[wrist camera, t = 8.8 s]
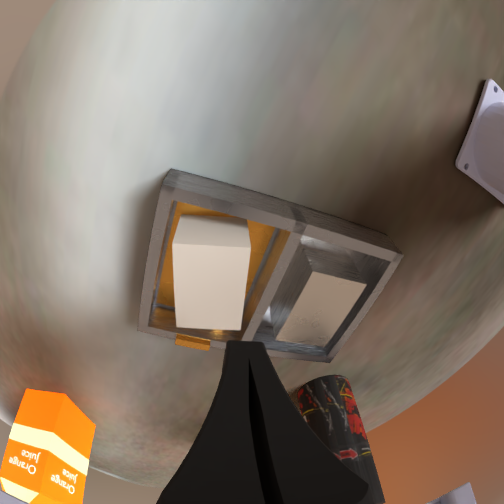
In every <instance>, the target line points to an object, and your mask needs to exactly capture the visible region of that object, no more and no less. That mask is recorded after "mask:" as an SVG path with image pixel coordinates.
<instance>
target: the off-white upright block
mask: <svg viewBox="0 0 504 504" xmlns="http://www.w3.org/2000/svg"><path fill="white" fill-rule="evenodd" d="M172 252H173V278H174V297H175V313H176V326H177V327H181V328H198V329H218V330H241V323H242V315H243V307H244V299H245V291H246V283H247V276H248V268H249V260H250V252H251V244H250V237H249V230H248V223H247V219H244V218H237V217H221V216H204V215H184V214H181V216H180V219H179V222H178V226H177V229H176V232H175V236H174V239H173V243H172Z"/></svg>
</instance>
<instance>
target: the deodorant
mask: <svg viewBox="0 0 504 504" xmlns="http://www.w3.org/2000/svg"><path fill="white" fill-rule="evenodd" d="M298 400H299V405H300V410H301V415H302V417H303V418H304V420H305V421H306V422H307V424H308V425H309V426H310V428H311V429H312V430H313V431H314V432H315V434H316V435H317V436H318V437H319V438H320V440H321V441H322V442H323V443H324V444H325V445H326V446H327V447H328V448H329V449H330V450H331V451H332V452H333V453H334V454H335V455H336V456H337V457H338V458H339V459H340V460H341V461H342V462H343V463H344V464H345V465H346V466H347V467H349V468H350V469H351V470H352V471H353V472H355V473H356V474H357V475H358V476H360V477H361V478H362V479H364V480H365V481H366V482H367V483H369V486H370V488H371V490H372V493H373V495H374V499H375V503H376V504H383V503H385V499H384V495H383V492H382V488H381V484H380V481H379V477H378V474H377V470H376V467H375V464H374V460H373V456H372V453H371V450H370V446H369V443H368V440H367V437H366V433H365V430H364V427H363V424H362V421H361V417H360V414H359V411H358V408H357V405H356V402H355V399H354V396H353V393H352V390H351V387H350V384H349V381H348V379H347V378H346V377H344V376H340V375H329V376H324V377H320V378H317V379H314V380H312V381H310V382H308V383H307V384H305V385H304V386H302V388H301V389H300V390H299V392H298Z"/></svg>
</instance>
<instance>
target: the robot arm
mask: <svg viewBox="0 0 504 504" xmlns="http://www.w3.org/2000/svg"><path fill="white" fill-rule="evenodd" d="M465 164H466V166H465ZM464 166H465V168H464ZM456 167H457V168H458V169H459V170H461V171H462V172H463V173H465V174H466V175H468V176H469V177H470V178H472V179H473V180H474V181H476V182H477V183H478V184H479V185H481V186H482V187H483V188H485V189H486V190H487V191H488V192H490V193H491V194H492V195H493V196H495V197H496V198H497V199H498V200H499V201H501V202H502V203H503V204H504V91H503V90H502V89H501V88H500V87H499V86H498V85H497V84H496V83H495V82H494V81H493V80H492V79H487V80H486V82H485V85H484V88H483V91H482V94H481V97H480V100H479V103H478V106H477V109H476V112H475V114H474V117H473V120H472V122H471V125H470V128H469V130H468V133H467V135H466V138H465V140H464V143H463V145H462V147H461V150H460V152H459V154H458V157H457V159H456ZM0 504H29V503H27V502H25V501H23V500H21V499H19V498H17V497H14V496H12V495H10V494H8V493H7V492H5V491H3V490H0ZM156 504H376V503H375V499H374V495H373V493H372V490H371V488H370V486H369V483H367V482H366V481H365V480H364V479H362V478H361V477H360V476H358V475H357V474H356V473H355V472H353V471H352V470H351V469H350V468H349V467H347V466H346V465H345V464H344V463H343V462H342V461H341V460H340V459H339V458H338V457H337V456H336V455H335V454H334V453H333V452H332V451H331V450H330V449H329V448H328V447H327V446H326V445H325V444H324V443H323V442H322V441H321V440H320V438H319V437H318V436H317V435H316V434H315V432H314V431H313V430H312V429H311V428H310V426H309V425H308V424H307V422H306V421H305V420H304V418H303V417H302V415H301V414H300V413H299V411H298V410H297V408H296V406H295V405H294V403H293V402H292V400H291V399H290V397H289V395H288V393H287V392H286V390H285V388H284V386H283V384H282V383H281V381H280V379H279V377H278V375H277V373H276V371H275V369H274V367H273V365H272V362H271V360H270V358H269V356H268V353H267V351H266V348H265V345H264V343H263V342H256V341H238V340H229V341H227V342H226V348H225V355H224V361H223V368H222V375H221V379H220V382H219V386H218V389H217V392H216V394H215V397H214V400H213V402H212V405H211V407H210V410H209V412H208V415H207V417H206V419H205V421H204V423H203V425H202V428H201V430H200V432H199V434H198V436H197V437H196V439H195V441H194V443H193V445H192V447H191V449H190V450H189V452H188V454H187V455H186V457H185V459H184V460H183V462H182V464H181V465H180V467H179V468H178V470H177V471H176V473H175V474H174V476H173V477H172V479H171V480H170V482H169V483H168V484H167V486H166V487H165V488H164V490H163V491H162V493H161V495H160V497H159V499H158V501H157V503H156ZM426 504H477V503H476V500H475V497H474V494H473V491H472V488H471V485H470V483H469V482H467V483H466V484H464V485H462V486H460V487H458V488H456V489H454V490H452V491H450V492H448V493H447V494H445V495H443V496H441V497H439V498H437V499H435V500H433V501H431V502H428V503H426Z"/></svg>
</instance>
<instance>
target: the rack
mask: <svg viewBox="0 0 504 504" xmlns="http://www.w3.org/2000/svg"><path fill="white" fill-rule="evenodd" d="M181 214H184V215H204V216H221V217H237V218H244V219H247V223H248V230H249V237H250V244H251V252H250V260H249V268H248V276H247V283H246V291H245V299H244V307H243V315H242V323H241V330H218V329H198V328H181V327H177V326H176V313H175V297H174V278H173V252H172V243H173V239H174V236H175V232H176V229H177V226H178V222H179V219H180V216H181ZM403 256H404V255H403V254H402V252H401V251H400V250H399V249H398V248H397V246H396V245H395V244H394V243H393V242H392V241H391V239H390V238H389V237H388V236H387V235H386V234H383V233H381V232H378V231H375V230H372V229H370V228H367V227H364V226H361V225H358V224H355V223H352V222H350V221H347V220H344V219H341V218H338V217H335V216H332V215H329V214H326V213H323V212H320V211H317V210H314V209H311V208H308V207H305V206H301V205H298V204H295V203H292V202H289V201H285V200H282V199H279V198H276V197H272V196H269V195H266V194H262V193H259V192H256V191H252V190H249V189H245V188H242V187H238V186H235V185H231V184H228V183H224V182H220V181H217V180H213V179H209V178H206V177H202V176H198V175H194V174H191V173H187V172H183V171H179V170H175V169H170V171H169V173H168V174H167V176H166V178H165V179H164V181H163V183H162V185H161V190H160V194H159V199H158V203H157V208H156V213H155V218H154V223H153V228H152V233H151V239H150V244H149V250H148V256H147V262H146V268H145V275H144V281H143V288H142V296H141V303H140V311H139V320H138V329H137V331H141V332H145V333H149V334H154V335H158V336H162V337H167V338H171V339H176V340H175V344H176V345H181V346H186V347H191V348H196V349H201V350H206V351H208V350H209V348H210V346H211V347H216V348H222V349H225V348H226V342H227V341H229V340H238V341H256V342H263V343H264V345H265V348H266V351H267V353H268V356H273V357H281V358H289V359H297V360H306V361H316V362H326V363H330V362H331V361H332V359H333V358H334V357H335V356H336V354H337V353H338V352H339V350H340V349H341V348H342V346H343V345H344V344H345V342H346V341H347V340H348V338H349V337H350V336H351V334H352V333H353V332H354V330H355V329H356V328H357V326H358V325H359V323H360V322H361V321H362V319H363V318H364V316H365V315H366V313H367V312H368V311H369V309H370V308H371V306H372V305H373V303H374V302H375V300H376V299H377V297H378V296H379V294H380V293H381V291H382V290H383V288H384V287H385V285H386V284H387V282H388V280H389V279H390V277H391V276H392V274H393V273H394V271H395V269H396V268H397V266H398V264H399V263H400V261H401V259H402V258H403Z"/></svg>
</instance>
